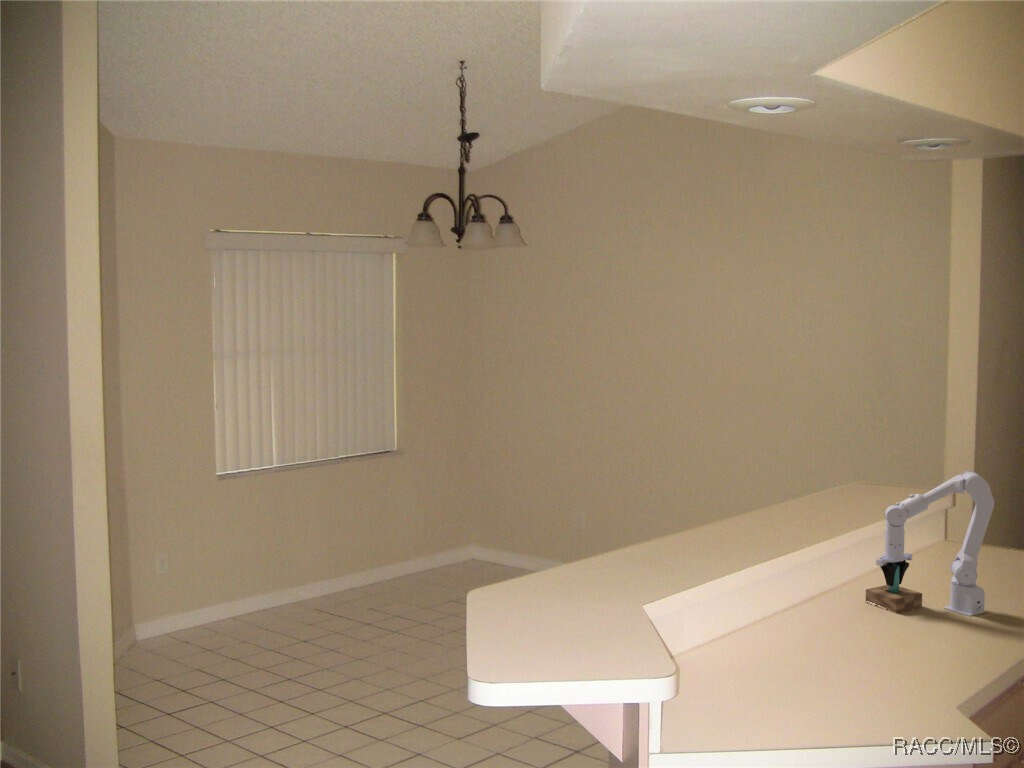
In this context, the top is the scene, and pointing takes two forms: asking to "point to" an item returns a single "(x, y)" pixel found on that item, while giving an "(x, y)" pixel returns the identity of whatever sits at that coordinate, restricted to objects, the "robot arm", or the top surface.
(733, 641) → the top surface
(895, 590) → the peg
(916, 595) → the socket block
